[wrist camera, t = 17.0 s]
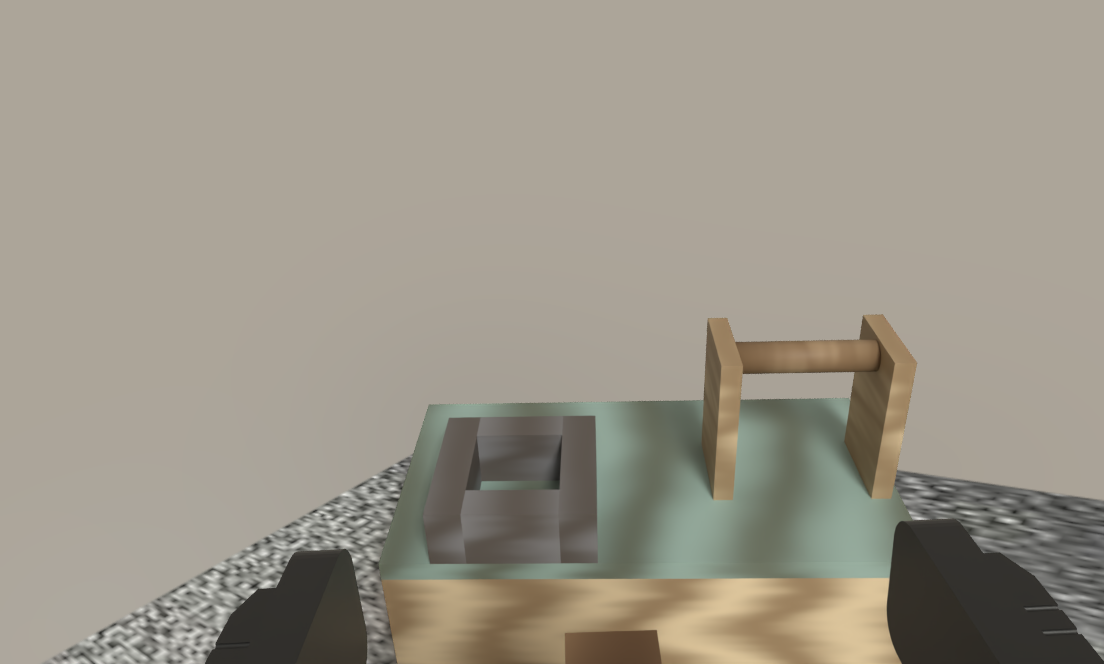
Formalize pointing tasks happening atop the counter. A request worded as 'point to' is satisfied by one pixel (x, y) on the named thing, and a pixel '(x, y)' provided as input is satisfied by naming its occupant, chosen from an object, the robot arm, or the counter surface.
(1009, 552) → the counter surface
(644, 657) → the walnut key
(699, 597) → the wooden socket fixture
